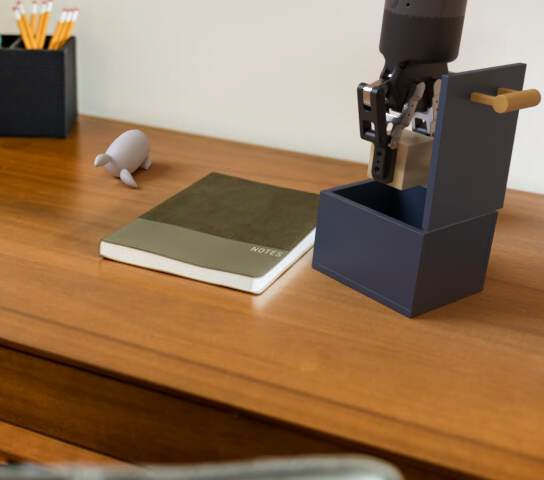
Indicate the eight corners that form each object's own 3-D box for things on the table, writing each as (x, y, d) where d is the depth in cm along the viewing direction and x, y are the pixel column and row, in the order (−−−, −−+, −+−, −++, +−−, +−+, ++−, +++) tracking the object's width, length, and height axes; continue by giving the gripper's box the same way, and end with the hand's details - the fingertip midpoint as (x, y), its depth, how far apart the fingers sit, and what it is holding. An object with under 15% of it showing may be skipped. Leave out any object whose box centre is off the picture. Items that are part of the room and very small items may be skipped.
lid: (441, 74, 78) (488, 84, 75) (519, 62, 85) (566, 71, 81) (421, 229, 84) (464, 245, 80) (496, 206, 90) (539, 220, 87)
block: (396, 169, 95) (402, 127, 93) (431, 182, 92) (438, 139, 90) (366, 176, 92) (372, 133, 90) (401, 190, 89) (408, 146, 87)
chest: (311, 267, 97) (319, 190, 93) (383, 244, 103) (394, 172, 100) (410, 318, 87) (424, 234, 83) (483, 290, 93) (498, 211, 90)
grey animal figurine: (115, 133, 126) (77, 171, 117) (140, 115, 123) (103, 153, 114) (143, 167, 128) (107, 208, 118) (168, 151, 125) (134, 191, 115)
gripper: (406, 18, 78) (380, 201, 85) (503, 8, 86) (472, 176, 93) (343, 5, 84) (323, 178, 90) (440, -3, 92) (415, 156, 99)
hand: (399, 176), depth 92 cm, fingers closed on block, 4 cm apart
